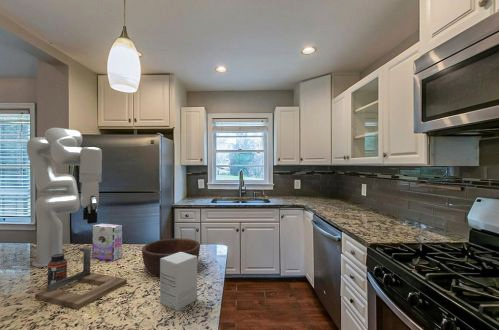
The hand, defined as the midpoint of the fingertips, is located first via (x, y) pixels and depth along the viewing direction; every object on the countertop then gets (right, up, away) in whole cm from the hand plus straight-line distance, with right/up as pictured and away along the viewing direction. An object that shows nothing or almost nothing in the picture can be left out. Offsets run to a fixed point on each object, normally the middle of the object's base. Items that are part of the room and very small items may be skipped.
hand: (89, 221), depth 103 cm
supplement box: (+40, -24, -16) cm, 49 cm away
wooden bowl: (+29, -24, +13) cm, 40 cm away
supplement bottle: (-10, -24, -4) cm, 26 cm away
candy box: (-7, -24, +26) cm, 36 cm away
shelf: (+3, -24, -9) cm, 25 cm away
